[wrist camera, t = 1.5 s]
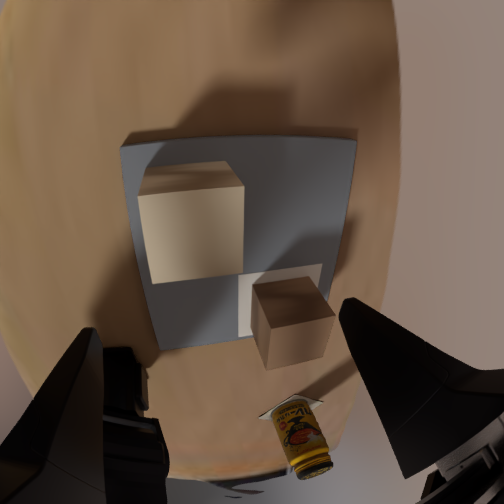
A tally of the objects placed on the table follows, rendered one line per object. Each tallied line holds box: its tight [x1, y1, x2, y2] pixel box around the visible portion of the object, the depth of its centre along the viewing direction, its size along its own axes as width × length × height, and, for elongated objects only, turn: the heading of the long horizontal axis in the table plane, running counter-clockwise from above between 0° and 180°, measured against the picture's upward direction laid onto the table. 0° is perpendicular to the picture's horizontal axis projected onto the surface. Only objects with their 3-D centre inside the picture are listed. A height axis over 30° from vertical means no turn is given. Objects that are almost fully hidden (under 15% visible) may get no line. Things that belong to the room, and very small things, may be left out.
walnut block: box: [250, 276, 336, 371], centre depth 23 cm, size 5×5×5 cm
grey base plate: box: [120, 135, 357, 350], centre depth 22 cm, size 16×18×1 cm
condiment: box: [259, 395, 333, 480], centre depth 36 cm, size 7×8×12 cm
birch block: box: [138, 161, 244, 284], centre depth 16 cm, size 5×5×5 cm
